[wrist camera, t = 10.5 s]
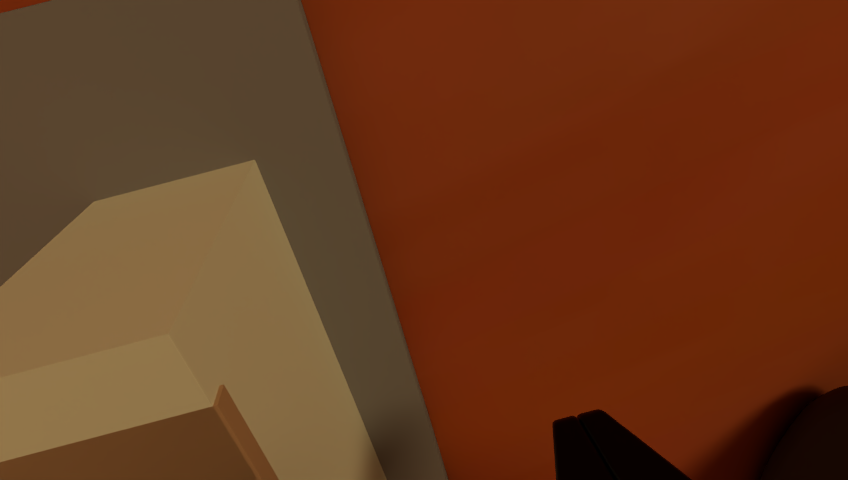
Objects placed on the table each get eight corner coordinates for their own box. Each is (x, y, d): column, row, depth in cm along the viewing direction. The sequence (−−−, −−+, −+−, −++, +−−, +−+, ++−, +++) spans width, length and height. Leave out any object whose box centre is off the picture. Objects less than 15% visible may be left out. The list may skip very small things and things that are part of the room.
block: (258, 158, 9) (173, 331, 5) (394, 493, 14) (414, 731, 10) (90, 202, 9) (-145, 415, 5) (285, 522, 14) (256, 773, 10)
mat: (283, -55, 8) (279, -57, 8) (460, 519, 16) (464, 538, 15) (-507, 144, 8) (-567, 156, 8) (58, 625, 16) (47, 648, 15)
